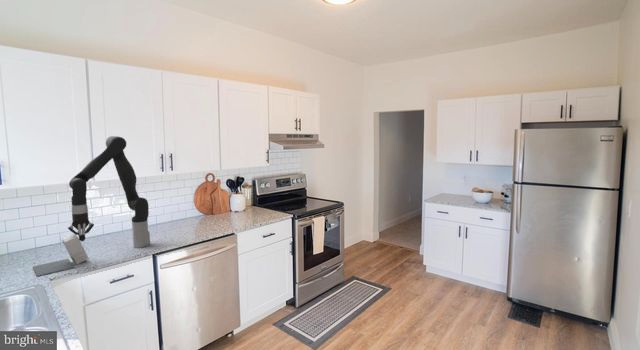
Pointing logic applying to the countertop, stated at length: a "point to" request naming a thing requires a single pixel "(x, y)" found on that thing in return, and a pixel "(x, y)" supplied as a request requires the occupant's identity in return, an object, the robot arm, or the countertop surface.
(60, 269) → the mat
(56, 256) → the countertop surface
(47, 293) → the countertop surface
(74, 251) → the skincare box
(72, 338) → the countertop surface
